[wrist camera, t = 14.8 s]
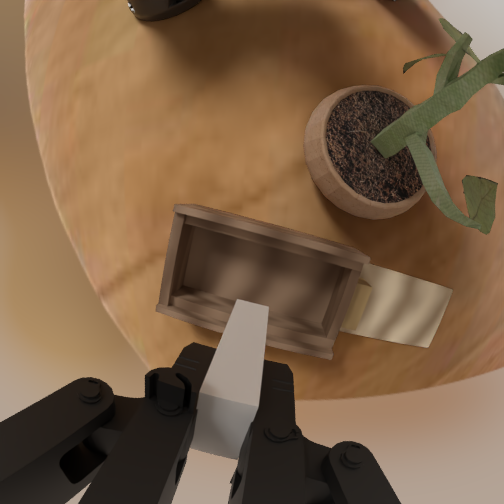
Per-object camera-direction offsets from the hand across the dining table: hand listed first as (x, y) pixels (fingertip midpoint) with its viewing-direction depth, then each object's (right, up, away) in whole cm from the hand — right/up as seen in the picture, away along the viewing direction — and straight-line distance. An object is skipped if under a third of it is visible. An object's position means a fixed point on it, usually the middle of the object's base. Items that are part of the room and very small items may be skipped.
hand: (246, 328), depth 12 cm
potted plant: (+17, +18, +19) cm, 32 cm away
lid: (+21, -5, +23) cm, 32 cm away
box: (+1, +1, +23) cm, 24 cm away
